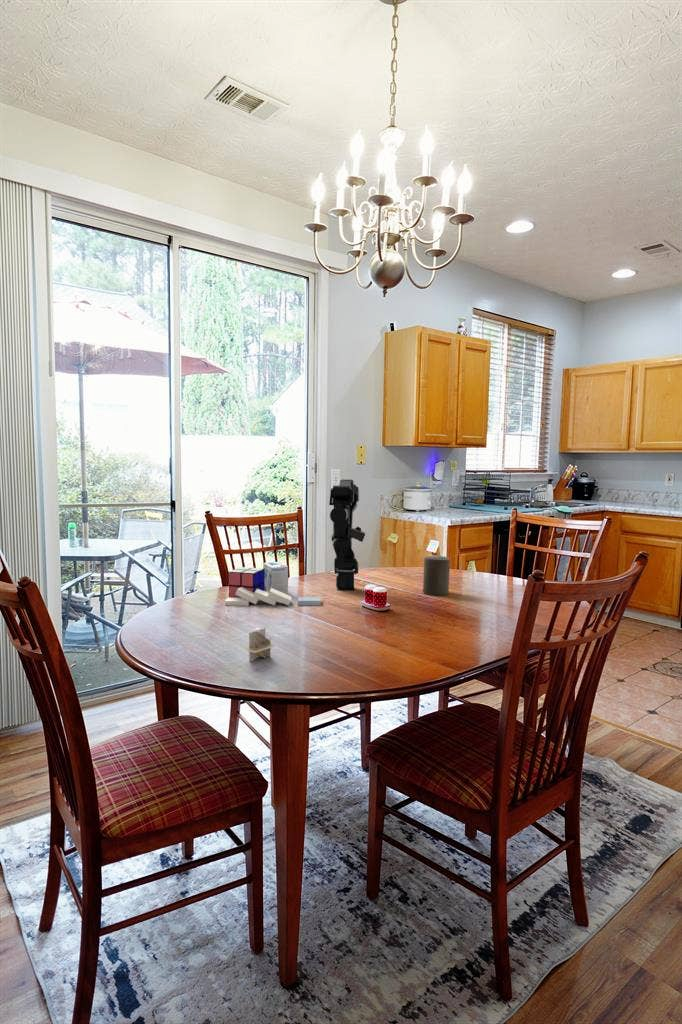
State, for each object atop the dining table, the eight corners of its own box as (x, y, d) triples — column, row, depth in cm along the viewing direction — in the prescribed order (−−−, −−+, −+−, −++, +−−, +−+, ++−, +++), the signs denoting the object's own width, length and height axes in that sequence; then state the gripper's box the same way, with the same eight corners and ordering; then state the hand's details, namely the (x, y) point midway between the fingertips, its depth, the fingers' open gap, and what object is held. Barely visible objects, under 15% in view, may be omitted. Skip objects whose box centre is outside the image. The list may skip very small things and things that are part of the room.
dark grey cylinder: (431, 596, 216) (433, 556, 215) (418, 591, 225) (419, 552, 224) (453, 595, 220) (455, 555, 219) (439, 589, 229) (441, 551, 227)
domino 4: (292, 596, 206) (271, 587, 206) (291, 600, 201) (269, 591, 201) (289, 601, 206) (269, 592, 206) (288, 605, 201) (267, 596, 201)
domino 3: (278, 596, 206) (257, 588, 206) (276, 600, 201) (255, 591, 201) (276, 601, 207) (255, 593, 206) (274, 605, 202) (252, 597, 201)
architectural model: (275, 658, 149) (275, 630, 148) (255, 666, 143) (255, 636, 143) (265, 655, 151) (265, 627, 150) (245, 663, 146) (245, 633, 145)
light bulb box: (262, 590, 224) (262, 562, 223) (279, 588, 227) (279, 561, 226) (271, 596, 215) (271, 567, 214) (288, 594, 218) (288, 566, 217)
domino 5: (320, 606, 203) (297, 606, 202) (320, 602, 208) (298, 602, 207) (320, 600, 202) (297, 600, 202) (320, 597, 207) (298, 597, 207)
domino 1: (250, 597, 206) (227, 597, 206) (248, 601, 201) (225, 601, 201) (250, 603, 206) (227, 603, 206) (248, 607, 201) (225, 606, 201)
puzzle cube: (254, 601, 207) (253, 573, 206) (228, 599, 210) (228, 571, 209) (265, 594, 217) (265, 568, 216) (240, 593, 220) (240, 566, 219)
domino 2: (261, 596, 206) (241, 586, 207) (257, 599, 201) (237, 589, 202) (259, 601, 207) (239, 591, 207) (255, 604, 202) (235, 594, 202)
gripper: (366, 523, 199) (365, 569, 200) (361, 518, 217) (360, 559, 219) (333, 523, 198) (333, 569, 200) (331, 518, 217) (331, 559, 218)
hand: (340, 564), depth 209 cm, fingers closed
